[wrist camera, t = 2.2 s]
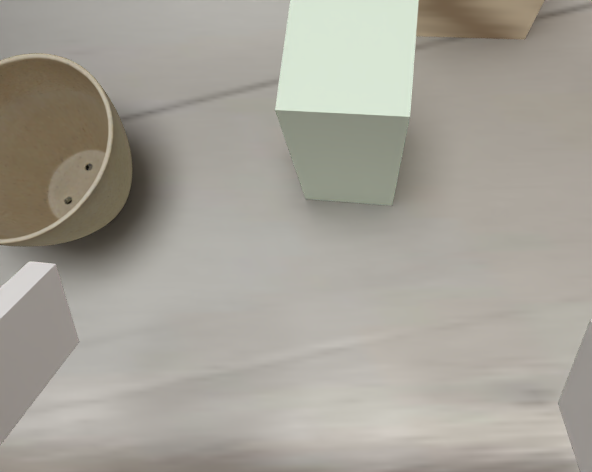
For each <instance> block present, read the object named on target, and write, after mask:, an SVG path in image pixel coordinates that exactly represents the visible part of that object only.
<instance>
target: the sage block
mask: <svg viewBox="0 0 592 472" xmlns="http://www.w3.org/2000/svg"><path fill="white" fill-rule="evenodd" d="M418 2H419V0H290V6H289V13H288V21H287V28H286V35H285V42H284V49H283V57H282V64H281V71H280V78H279V85H278V93H277V100H276V107H275V111H276V114H277V117H278V120H279V123H280V126H281V129H282V132H283V134H284V137H285V140H286V143H287V146H288V149H289V152H290V155H291V158H292V161H293V164H294V167H295V170H296V172H297V175H298V178H299V181H300V184H301V187H302V190H303V193H304V196H305V199H310V200H324V201H337V202H350V203H363V204H376V205H389V206H392V205H393V200H394V195H395V190H396V185H397V180H398V175H399V170H400V164H401V159H402V154H403V149H404V144H405V139H406V134H407V129H408V124H409V119H410V110H411V96H412V83H413V69H414V56H415V42H416V29H417V16H418Z"/></svg>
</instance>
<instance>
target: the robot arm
mask: <svg viewBox="0 0 592 472" xmlns="http://www.w3.org/2000/svg"><path fill="white" fill-rule="evenodd" d="M78 343H79V339H78V336H77V332H76V329H75V326H74V322H73V319H72V316H71V313H70V309H69V306H68V303H67V299H66V296H65V293H64V289H63V286H62V283H61V279H60V276H59V273H58V269H57V266H56V264H52V263H42V262H33V261H29V262H28V263H27V264H26V265H25V266H24V267H22V268H21V269H20V270H19V271H18V272H17V273H16V274H15V275H14V276H13V277H12V278H10V279H9V280H8V281H7V282H6V283H5V284H4V285H3V286H2V287H1V288H0V445H1V444H2V442H3V441H4V440H5V439H6V437H7V436H8V435H9V433H10V432H11V431H12V429H13V428H14V427H15V425H16V424H17V423H18V422H19V420H20V419H21V418H22V416H23V415H24V414H25V412H26V411H27V410H28V408H29V407H30V406H31V405H32V403H33V402H34V401H35V399H36V398H37V397H38V395H39V394H40V393H41V391H42V390H43V389H44V388H45V386H46V385H47V384H48V382H49V381H50V380H51V378H52V377H53V376H54V374H55V373H56V372H57V371H58V369H59V368H60V367H61V365H62V364H63V363H64V361H65V360H66V359H67V358H68V356H69V355H70V354H71V352H72V351H73V350H74V348H75V347H76V346H77V344H78ZM558 405H559V408H560V411H561V414H562V417H563V421H564V424H565V427H566V430H567V433H568V436H569V439H570V442H571V445H572V448H573V451H574V454H575V457H576V460H577V463H578V467H579V470H580V472H592V320H590V321H589V324H588V327H587V329H586V332H585V334H584V337H583V339H582V342H581V345H580V347H579V350H578V352H577V355H576V358H575V360H574V363H573V365H572V368H571V370H570V373H569V376H568V378H567V381H566V383H565V386H564V389H563V391H562V394H561V396H560V399H559V401H558Z"/></svg>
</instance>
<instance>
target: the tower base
mask: <svg viewBox="0 0 592 472" xmlns="http://www.w3.org/2000/svg"><path fill="white" fill-rule="evenodd" d="M544 1H545V0H419V2H418V16H417V29H416V36H425V37H461V38H496V39H525V38H526V36H527V34H528V32H529V30H530V28H531V26H532V24H533V22H534V20H535V18H536V16H537V14H538V12H539V10H540V8H541V6H542V5H543V3H544Z"/></svg>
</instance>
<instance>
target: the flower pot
mask: <svg viewBox="0 0 592 472" xmlns="http://www.w3.org/2000/svg"><path fill="white" fill-rule="evenodd" d="M86 166H89V169H88V170H87V169H86ZM131 182H132V158H131V151H130V146H129V142H128V139H127V135H126V132H125V130H124V127H123V124H122V122H121V120H120V117H119V115H118V113H117V111H116V109H115V107H114V105H113V104H112V102H111V100H110V99H109V97H108V95H107V94H106V92H105V91H104V90H103V88H102V87H101V85H100V84H99V83H98V81H97V80H96V79H95V78H94V77H93V76H92V75H91V74H90V73H89V72H88V71H87V70H86V69H84V68H83V67H82V66H80V65H79V64H77V63H75V62H73V61H71V60H69V59H66V58H63V57H60V56H56V55H51V54H43V53H31V54H22V55H17V56H13V57H9V58H6V59H3V60H0V245H6V246H46V245H54V244H60V243H65V242H69V241H73V240H76V239H79V238H82V237H85V236H87V235H90V234H92V233H94V232H96V231H97V230H99V229H101V228H102V227H104V226H105V225H107V224H108V223H109V222H110V221H112V220H113V219H114V218H115V217H116V216H117V215H118V214H119V212H120V211H121V210H122V208H123V206H124V205H125V203H126V200H127V198H128V195H129V192H130V188H131ZM71 201H72V202H71ZM69 202H71V203H70V204H69Z"/></svg>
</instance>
